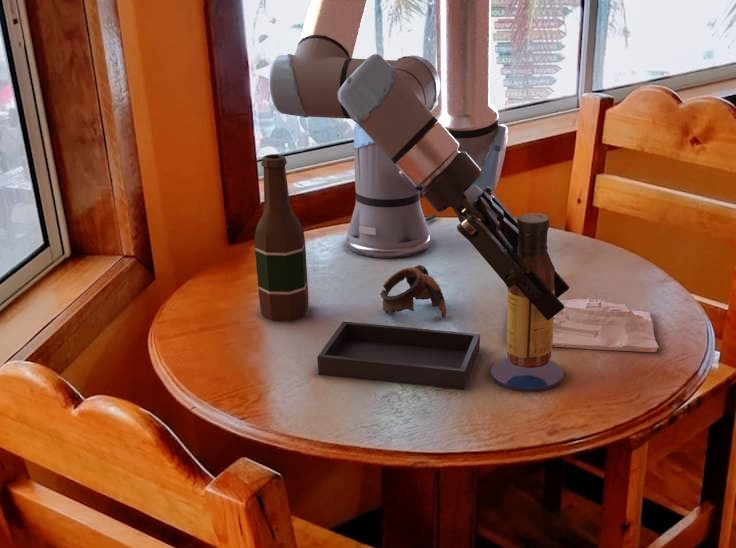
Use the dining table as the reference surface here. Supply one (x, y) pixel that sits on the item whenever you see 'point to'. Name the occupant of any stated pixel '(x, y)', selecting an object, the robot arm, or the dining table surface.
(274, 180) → the beer bottle
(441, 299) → the brown broken pot
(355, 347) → the tray
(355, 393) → the dining table surface
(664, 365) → the dining table surface
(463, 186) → the robot arm
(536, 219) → the sauce bottle
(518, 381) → the coaster
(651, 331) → the terrain model
